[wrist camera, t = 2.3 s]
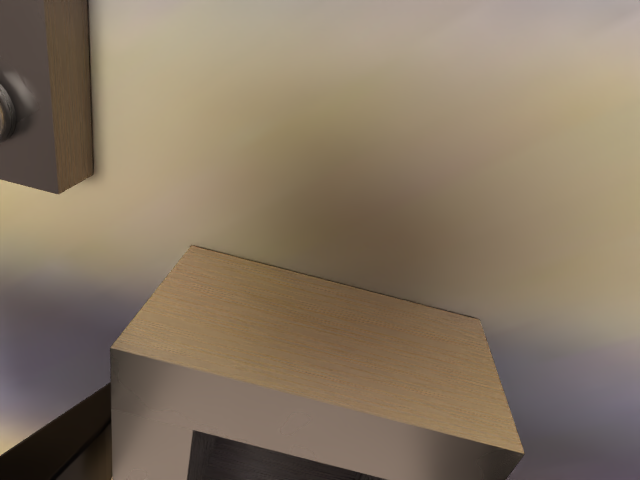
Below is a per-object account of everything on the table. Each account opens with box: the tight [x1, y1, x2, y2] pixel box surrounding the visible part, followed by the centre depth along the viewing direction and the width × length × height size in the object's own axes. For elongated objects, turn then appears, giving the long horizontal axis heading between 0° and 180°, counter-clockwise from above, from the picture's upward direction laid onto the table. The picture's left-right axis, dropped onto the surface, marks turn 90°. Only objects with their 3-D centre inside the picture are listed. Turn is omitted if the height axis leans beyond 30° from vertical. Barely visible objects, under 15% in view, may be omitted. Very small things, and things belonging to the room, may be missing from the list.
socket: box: [110, 245, 525, 480], centre depth 9 cm, size 6×6×3 cm
